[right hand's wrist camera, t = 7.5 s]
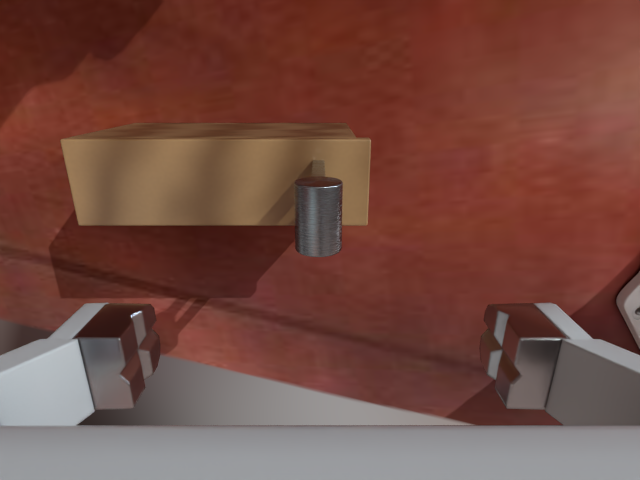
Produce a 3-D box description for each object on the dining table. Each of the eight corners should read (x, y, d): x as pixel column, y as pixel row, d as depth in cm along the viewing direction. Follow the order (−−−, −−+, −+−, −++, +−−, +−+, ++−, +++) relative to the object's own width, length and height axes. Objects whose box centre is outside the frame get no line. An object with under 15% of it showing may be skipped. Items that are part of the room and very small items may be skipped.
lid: (369, 137, 25) (392, 162, 17) (366, 221, 27) (385, 278, 19) (67, 137, 25) (-47, 162, 17) (85, 221, 27) (-11, 278, 19)
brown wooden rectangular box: (346, 123, 34) (356, 137, 25) (345, 186, 36) (354, 221, 27) (134, 122, 34) (67, 137, 25) (144, 186, 36) (85, 221, 27)
